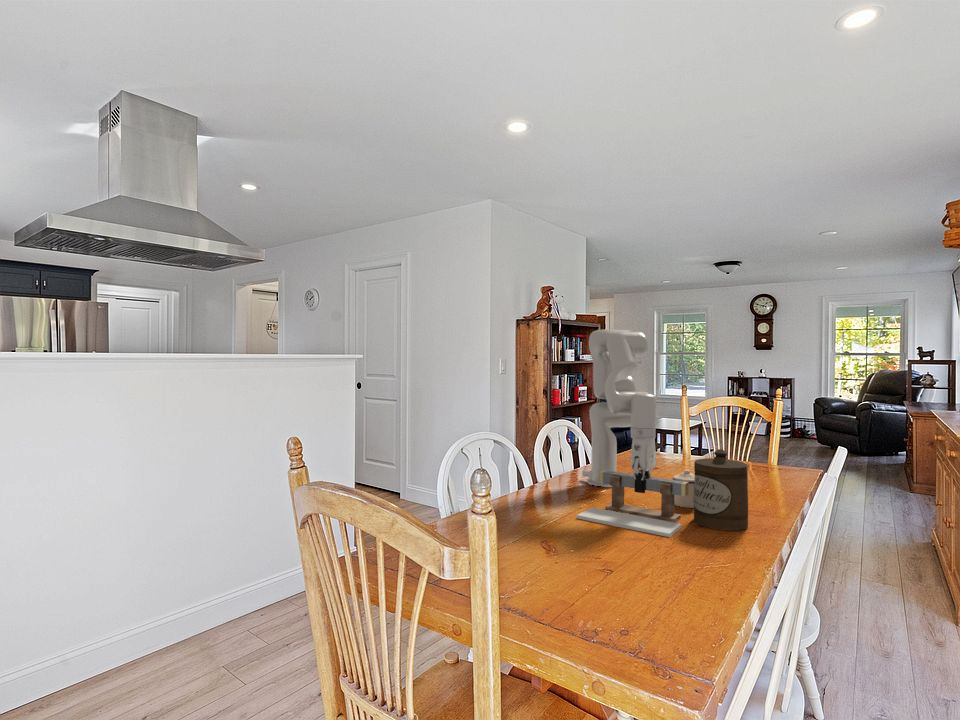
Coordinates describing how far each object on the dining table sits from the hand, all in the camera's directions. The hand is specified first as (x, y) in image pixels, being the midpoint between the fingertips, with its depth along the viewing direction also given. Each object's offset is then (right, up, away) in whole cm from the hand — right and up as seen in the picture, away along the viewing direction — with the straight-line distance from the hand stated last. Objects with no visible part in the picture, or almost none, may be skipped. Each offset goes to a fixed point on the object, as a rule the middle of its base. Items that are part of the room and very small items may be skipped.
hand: (642, 490), depth 170 cm
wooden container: (+21, -8, -9) cm, 24 cm away
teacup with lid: (+19, -8, +12) cm, 24 cm away
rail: (0, +1, 0) cm, 1 cm away
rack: (0, -7, 0) cm, 7 cm away
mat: (-7, -7, -10) cm, 14 cm away
